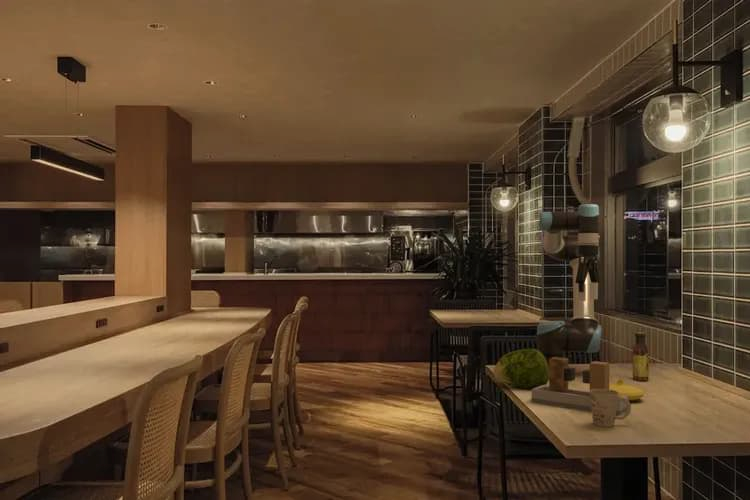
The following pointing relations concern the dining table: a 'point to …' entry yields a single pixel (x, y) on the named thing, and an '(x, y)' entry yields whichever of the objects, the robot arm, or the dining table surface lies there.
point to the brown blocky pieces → (579, 391)
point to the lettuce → (522, 369)
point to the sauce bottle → (640, 358)
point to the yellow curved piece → (626, 390)
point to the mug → (606, 406)
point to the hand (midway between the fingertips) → (587, 300)
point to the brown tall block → (560, 374)
